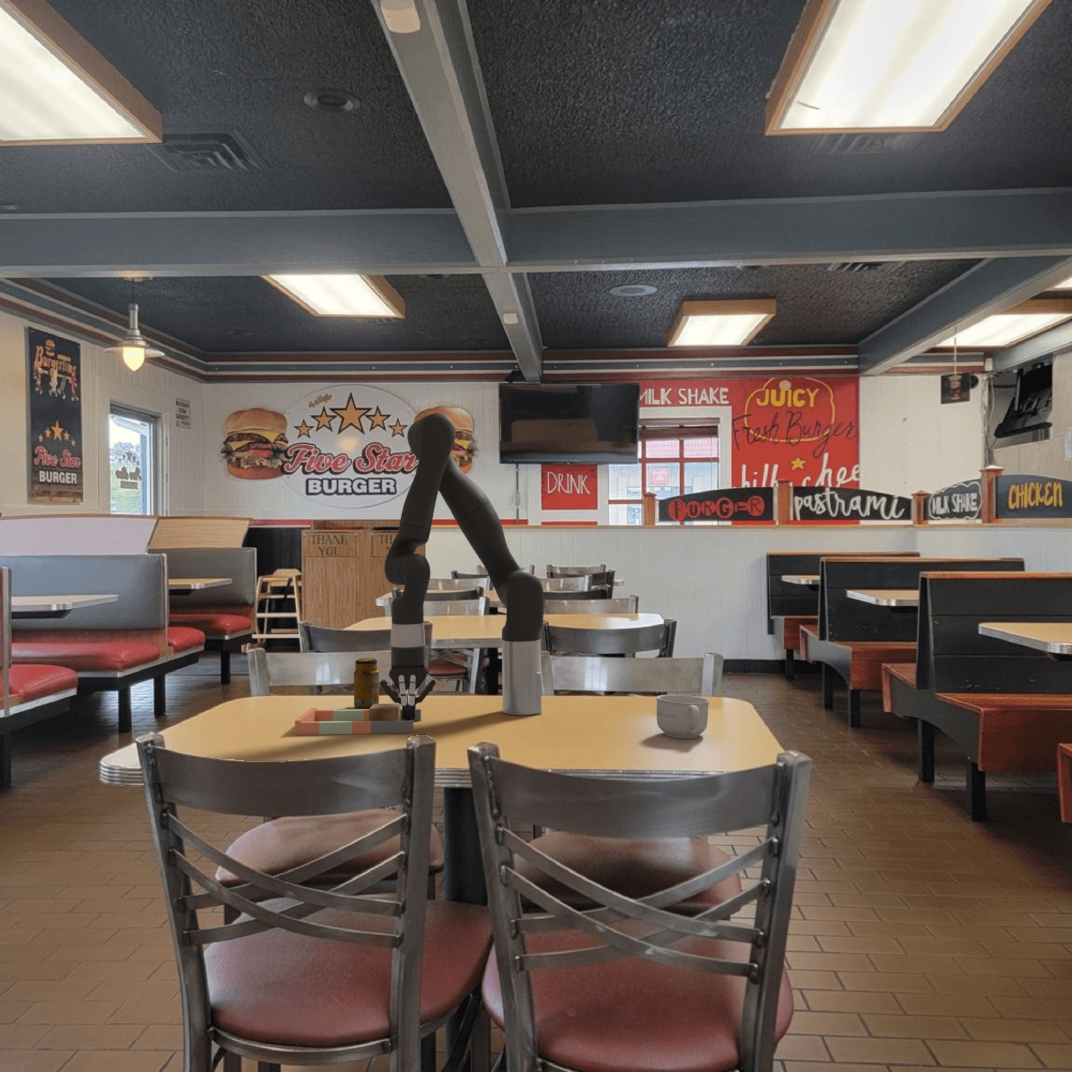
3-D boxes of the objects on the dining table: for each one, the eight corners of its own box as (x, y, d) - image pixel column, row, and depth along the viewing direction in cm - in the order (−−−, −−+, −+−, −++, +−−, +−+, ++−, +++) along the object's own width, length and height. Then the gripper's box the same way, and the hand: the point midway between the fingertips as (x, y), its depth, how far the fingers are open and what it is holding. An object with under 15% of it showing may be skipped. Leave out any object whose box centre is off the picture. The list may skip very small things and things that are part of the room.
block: (400, 723, 193) (400, 703, 193) (396, 729, 187) (396, 709, 187) (374, 723, 193) (373, 703, 193) (368, 729, 187) (368, 709, 187)
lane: (421, 719, 196) (421, 706, 196) (412, 733, 183) (412, 719, 182) (311, 720, 196) (311, 707, 196) (295, 734, 183) (294, 720, 183)
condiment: (372, 704, 215) (372, 656, 215) (389, 709, 208) (388, 660, 208) (346, 708, 210) (345, 659, 210) (362, 713, 204) (361, 663, 204)
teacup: (654, 729, 183) (653, 692, 183) (704, 729, 183) (704, 692, 183) (661, 746, 169) (661, 705, 169) (716, 746, 169) (716, 705, 169)
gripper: (439, 641, 193) (440, 717, 193) (381, 641, 193) (382, 718, 193) (436, 645, 185) (437, 725, 185) (375, 646, 185) (376, 726, 185)
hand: (408, 721), depth 189 cm, fingers closed
